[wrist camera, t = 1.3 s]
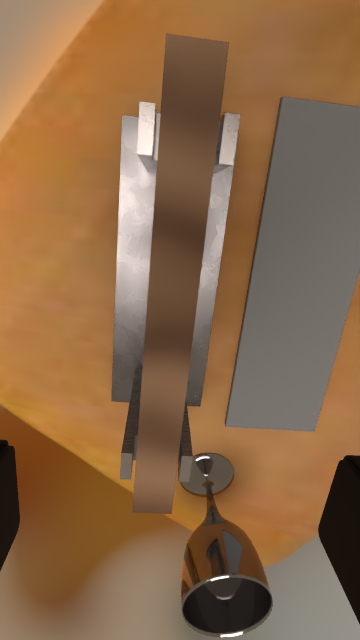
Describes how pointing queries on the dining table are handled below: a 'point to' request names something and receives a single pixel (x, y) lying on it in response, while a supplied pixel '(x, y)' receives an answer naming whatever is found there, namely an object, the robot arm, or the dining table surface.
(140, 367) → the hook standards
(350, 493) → the robot arm
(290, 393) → the grey mat
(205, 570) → the wine glass
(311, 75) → the dining table surface
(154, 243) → the walnut rail
